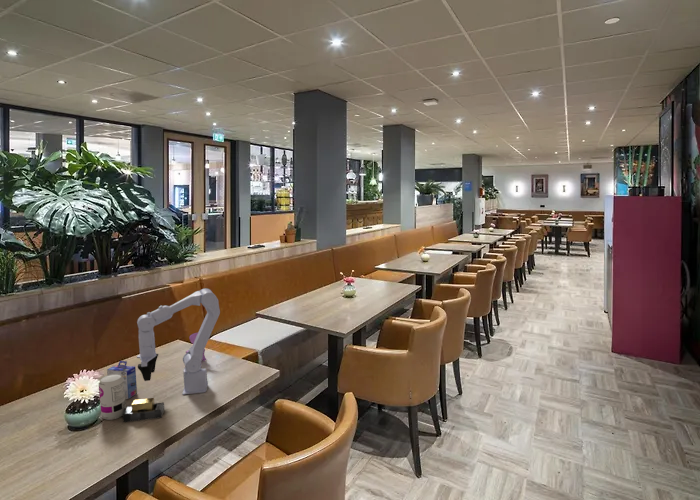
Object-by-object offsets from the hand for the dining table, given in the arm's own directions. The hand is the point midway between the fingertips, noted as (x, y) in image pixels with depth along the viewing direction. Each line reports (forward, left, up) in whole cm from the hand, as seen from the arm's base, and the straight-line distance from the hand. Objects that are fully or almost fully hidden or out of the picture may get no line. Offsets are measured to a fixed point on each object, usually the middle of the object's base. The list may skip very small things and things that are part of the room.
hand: (149, 376), depth 167 cm
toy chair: (-14, -33, -10) cm, 37 cm away
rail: (0, +13, -10) cm, 17 cm away
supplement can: (+11, +10, -10) cm, 18 cm away
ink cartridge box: (+12, -6, -10) cm, 17 cm away
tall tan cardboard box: (0, +13, -10) cm, 17 cm away
